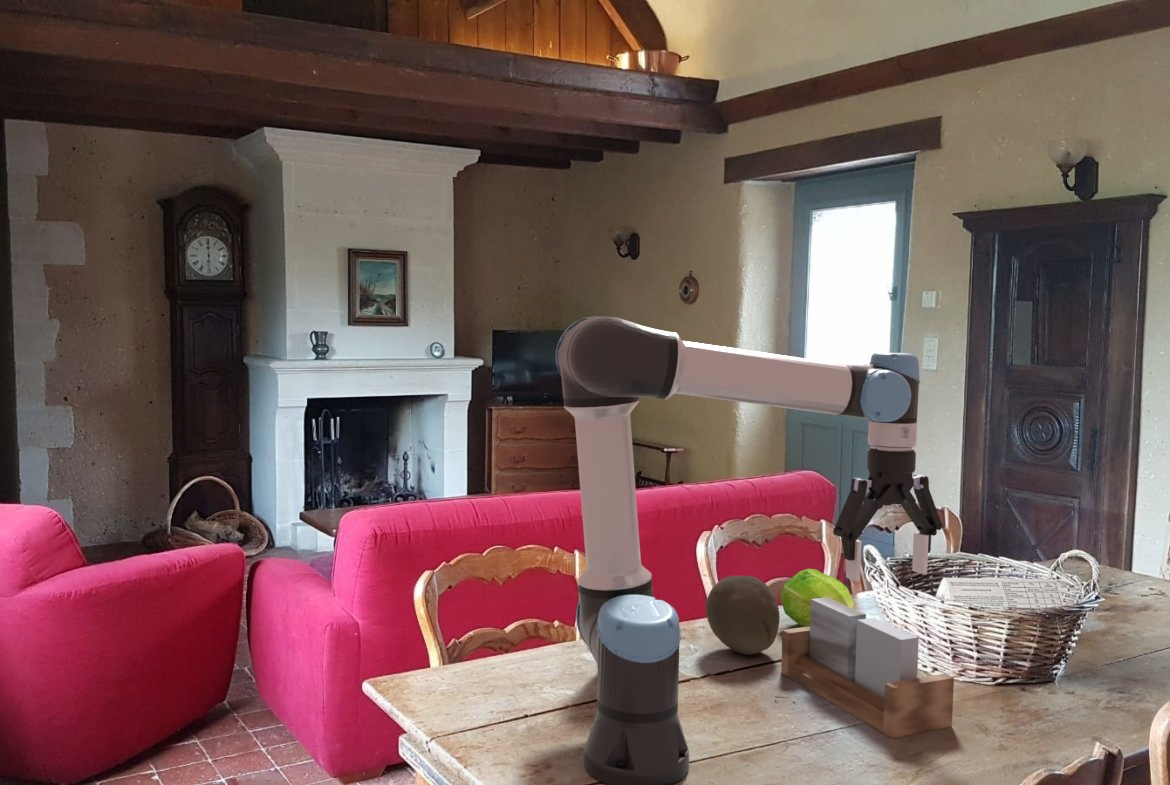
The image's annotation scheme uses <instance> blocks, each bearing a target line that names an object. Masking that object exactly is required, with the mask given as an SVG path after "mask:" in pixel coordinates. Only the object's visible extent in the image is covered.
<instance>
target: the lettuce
mask: <svg viewBox="0 0 1170 785" xmlns="http://www.w3.org/2000/svg"><path fill="white" fill-rule="evenodd" d="M781 589H782V590H781V592H780V595H779V599H780V602H781V605H782V610H783V612H784V614H785V615H786V616H788V617H789V618H790V619H791V620H792V621H793V622H795V623H796V624H797V625H799V626H800V628H801V627H809V626H810V614H811V599H816V598H825V597H827V598H830V599H832V600H834V601H837V602H839V603H841V604H844V605H846V606H848V607H850V608H853V609H855V610H856V606H855V603H854V600H853V598H852V595H851V593H850V591H849V589H848V587H847V586H846V585H845V584H844V583H843V582H842V581H841V580H839V579H837V578H835V577H833V576H830V575H829V574H825V573H823V572H821V571H820V570H818V569H815V568H814V569H813V568H806V569H803V570H800V571H799V572H796V574H795V575H793V576H792V577H791V578H790V579H789V580H787V582H785V583H784V584H783V586H782V588H781Z"/></svg>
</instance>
